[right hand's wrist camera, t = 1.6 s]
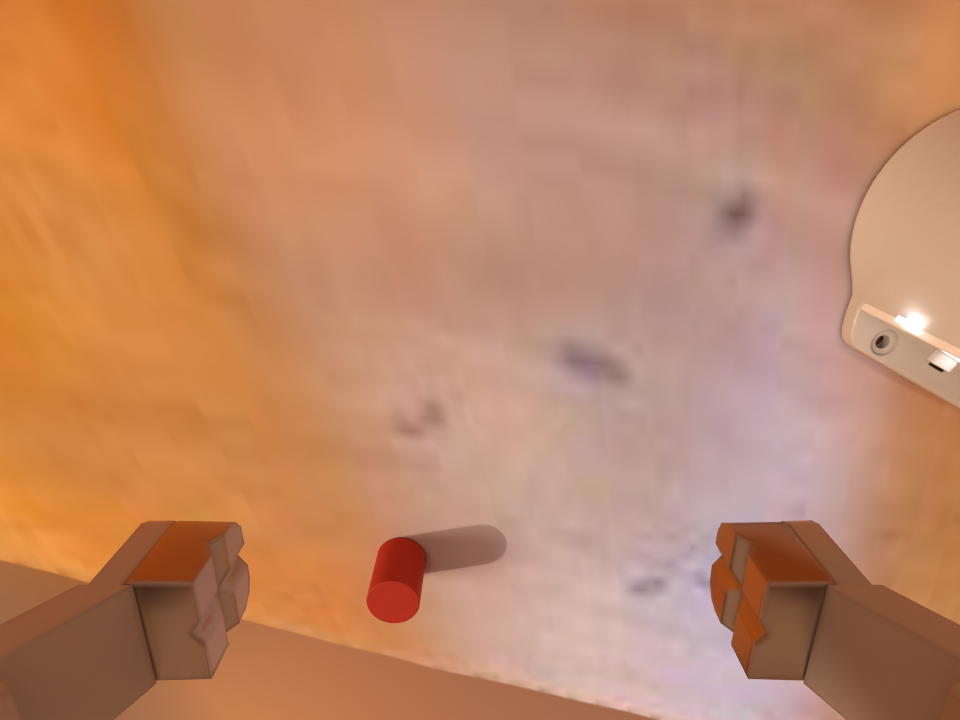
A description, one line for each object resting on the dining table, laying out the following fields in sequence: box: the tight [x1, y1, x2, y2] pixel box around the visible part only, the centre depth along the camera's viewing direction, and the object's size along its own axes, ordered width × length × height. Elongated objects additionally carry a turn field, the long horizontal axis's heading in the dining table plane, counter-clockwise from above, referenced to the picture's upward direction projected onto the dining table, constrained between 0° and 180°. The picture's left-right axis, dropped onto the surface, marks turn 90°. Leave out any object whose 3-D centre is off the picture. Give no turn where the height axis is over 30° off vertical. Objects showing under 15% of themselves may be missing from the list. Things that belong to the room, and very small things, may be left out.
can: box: [367, 538, 425, 623], centre depth 43 cm, size 4×4×5 cm
